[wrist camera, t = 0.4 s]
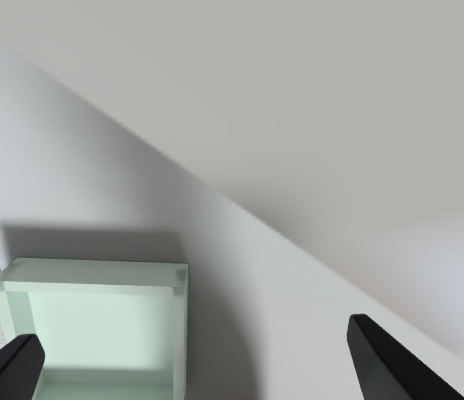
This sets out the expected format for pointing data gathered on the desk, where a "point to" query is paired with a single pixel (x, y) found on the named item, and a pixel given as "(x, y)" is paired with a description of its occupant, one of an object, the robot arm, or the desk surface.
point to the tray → (101, 326)
